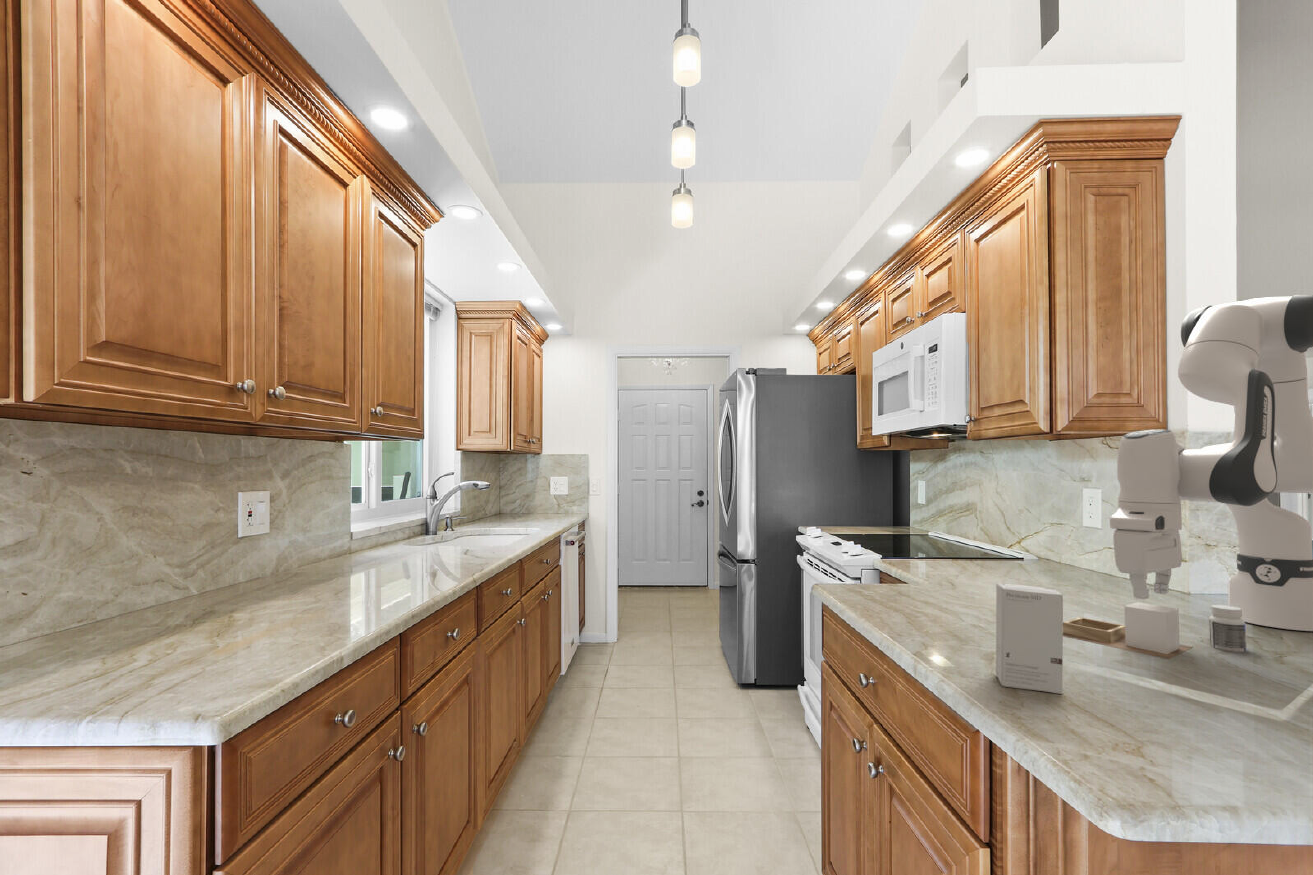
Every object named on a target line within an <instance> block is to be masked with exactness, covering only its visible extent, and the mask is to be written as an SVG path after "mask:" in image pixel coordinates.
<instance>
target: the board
mask: <svg viewBox="0 0 1313 875" xmlns="http://www.w3.org/2000/svg"><path fill="white" fill-rule="evenodd" d="M1063 637H1065V638H1070V639H1075V640H1080V641H1083V642H1088V643H1093V644H1097V645H1100V646H1101V645H1102V646H1105V647H1110V648H1115V649H1116V648H1117V649H1120V650H1125V651H1130V652H1135V653H1139V654H1142V655H1143V654H1144V655H1147V656H1153V657H1158V658H1161V659H1166V660H1169V659H1172V658H1174V657H1176V656H1178V655H1180V654H1182V653H1185V652H1186V651H1188V650H1191V649H1192V648H1193V646H1188V645H1183V644H1180V649H1178V650H1175V651H1173V652H1171V653H1169V654H1164V653H1160V652H1155V651H1150V650H1146V649H1141V648H1136V647H1131V646H1127V645H1126V641H1125V624H1124V625H1123V624H1118V623H1113V622H1108V621H1103V620H1096V619H1091V618H1086V617H1083V616H1082V617H1081V616H1080V617H1077V618H1074V619H1070V620H1067V621H1063Z"/></svg>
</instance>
